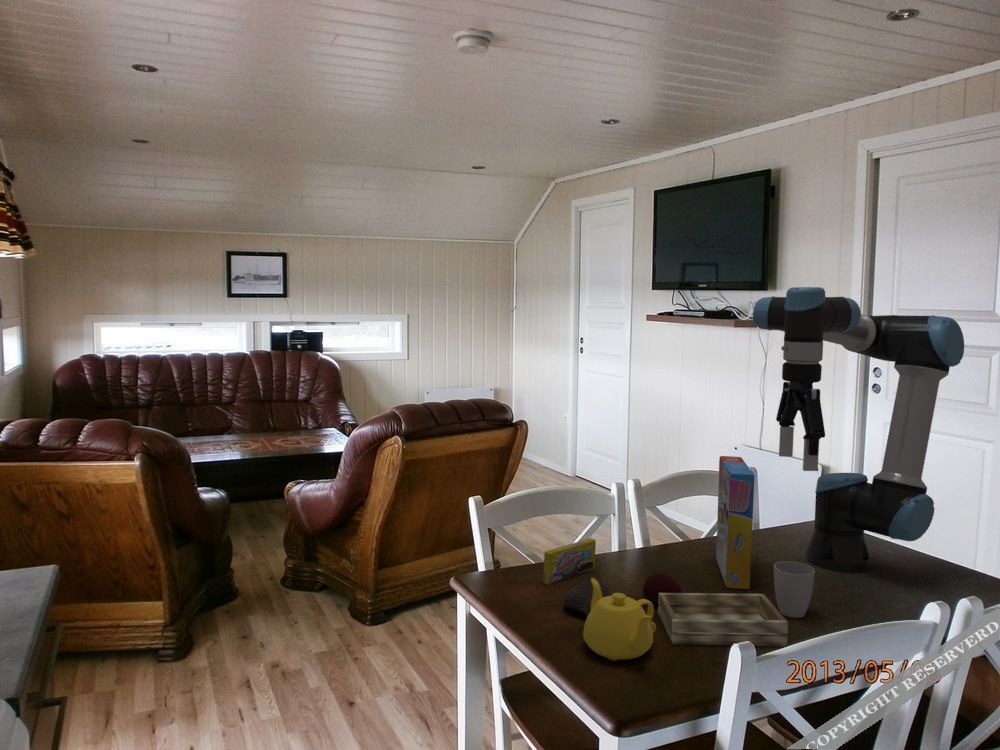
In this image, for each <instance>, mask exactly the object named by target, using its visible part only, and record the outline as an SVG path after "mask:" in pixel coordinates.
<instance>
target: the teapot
mask: <svg viewBox="0 0 1000 750" xmlns="http://www.w3.org/2000/svg"><path fill="white" fill-rule="evenodd" d="M590 579H591V582H592V585H593V597H592V602H591V611H590V613H589V615H588V617H587V616H586V620H585V623H584V627H583V631H582V636H583V640H584V642H585V644H587V646H588V648H590V649H591V650H592V651H593V652H594V653H595V654H597V655H599V656H601V657H604V658H606V659H608V660H609V661H614V662H617V661H620V660H633V659H636V658H639V657H641V656H643V655H644V654H646V652H648V651H649V649H650V648H651V647H652V646H653V643H654V633H655V632H656V629H657V625H656V623H655V622H654V621H653V617H654V612H655V611H654V609H655V607H654V604H652V603H651V602H650V601H649V600H646V599H645V598H640V599H638V600H636V599H634V598H631V597H630V596H627V595H626V594H625V593H622V592H615V593H612V594H611V596H606V597H602V593H601V589H600V585H599V583H598V581H597V580H598V579H596V577H595V578H594V577H591V578H590ZM644 605H647V612H645V610H644V609H643V607H642V606H644Z"/></svg>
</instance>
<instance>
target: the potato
mask: <svg viewBox="0 0 1000 750" xmlns="http://www.w3.org/2000/svg"><path fill="white" fill-rule="evenodd" d="M642 593H643V594H642V595H643V597H644V599H646V600H649V601H650V602H651V603H652V604H653V605H656V606H659V603H658V599H659V593H683V590H682V587H681V585H680V583H679V582H678V581H676V580H675V579H674V578H672V577H671V576H670V575H667V574H666V573H663V572H653V573H652V574H649V576H647V578H646V579H645V580H644V583H643V586H642Z"/></svg>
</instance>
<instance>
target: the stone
mask: <svg viewBox="0 0 1000 750" xmlns="http://www.w3.org/2000/svg"><path fill="white" fill-rule="evenodd" d="M596 580H597V581H598V583H599V585H600V589H601V593H602V597H606V596H612V594H611V593H610V592H611V591H610V590H609V588H608V587H607V585H606V584H605V583H604V582H602V581H600V580H599V579H596ZM564 597H565V598H564V600H563V606H564V607H565V608H567V609H571V610H574V611H575V610H576V611H578V612H581V613H583V614H585V616H586V618H587V617H588V615H589V613H590V611H591V602H592V597H593V585H592V582H591V578H590V579H585V580H584V581H582V582H580V583H579V584H576V585H575V586H573V587H572V588H571V589H570V590H569V591H568V592H567V594H566V595H565V596H564Z"/></svg>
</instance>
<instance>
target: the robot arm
mask: <svg viewBox="0 0 1000 750" xmlns="http://www.w3.org/2000/svg"><path fill="white" fill-rule="evenodd" d="M861 312H862V311H861V308H860V305H859V304H858V302H857V301H856V300H855V299H852V298H850V297H845V296H826V290H825V288H824V287H820V286H818V287H817V286H808V287H807V286H805V287H804V286H794V287H790V288H788V289H787V291H786V295H785V296H775V295H774V296H767V297H761V298H760V299H758V300H757V301H756V302H755V303H754V306H753V313H752V318H753V323H754V325H756V327H757V328H758V329H760V330H767V331H781V332H784V336H783V345H782V346H781V350H782V351H783V354H782V356H783V357H782V359H783V360H784V361H785V362H783V363H782V372H781V379H782V380H783V384H782V392H781V397H780V400H779V405H778V409H777V413H776V418H775V420H776V422H778V424H779V445H778V457H781V458H782V457H786V458H787V457H788V458H789V457H791V458H793V456H794V455H793V454H794V453H793V452H794V451H793V450H794V435H795V434H794V430H795V426H796V423H795V421H794V420H795V419H796V416H797V413H798V412H800V415H801V420H802V423H803V425H802V426H803V428H804V432H805V434H804V435H803V437H802V440H803V455H802V456H803V459H802V471H803V472H819V471H818V470H819V456H820V455H819V452H820V440H821V439H822V438H824V439H825V437H826V430H825V424H824V417H823V410H822V404H821V389H820V388H814V385H813V384H814V383H819V382H821V381H822V371H823V368H822V367H823V365H821V363H820V362H821V361H823V356H824V355H823V353H824V342H828V343H832V344H836V345H840V346H842V347H843V348H844V349H845V350H847V351H849V352H852V353H856V354H859V355H861V356H866V357H870V358H873V359H877V360H880V361H886V362H894V365H893V366H894V369H895V370H896V372H897V373H898V375H899V377H898V382H897V387H896V393H895V398H894V403H893V408H892V414H891V419H890V423H889V429H888V435H887V439H886V446H885V451H884V456H883V460H882V461H883V462H882V467H881V470H880V471H879V472H878V473H876V474H875V475H873V476H872V483H870V482H868V481H869V479H868V477H867V474H863V473H859V472H858V473H857V472H834V473H833V472H832V473H830V472H829V473H825V474H822V475H820V476H819V477H818V478H817V481H816V487H815V491H814V492H815V505H814V507H815V508H814V530H813V533H812V534H811V537H810V539H809V541H808V544H807V547H806V548H805V560H806V561H807V562H808V563H810V564H811V565H813V566H815V567H817V568H821V569H825V570H828V571H834V572H839V573H861V572H865V571H867V570H869V569H870V568H871V556H870V552H869V550H868V545H867V543H866V539H865V531H866V532H871V533H873V534H877V535H881V536H885V537H888V538H890V539H892V540H901V541H903V542H904V541H905V542H914V541H917V540H919V539H921V538H922V537H923V535H924V534H925V533H926V532H927V531H929V530H928V529H929V528H930V526H931V524H932V521H933V519H934V515H935V506H934V505H935V502H934V500H933V498H932V497H931V496H930V495H928V494H927V491H928V486H927V485H926V483H924V481H923V479H922V478H923V472H924V467H925V463H926V462H925V461H926V456H927V451H928V445H929V440H930V434H931V428H932V423H933V419H934V414H935V408H936V403H937V397H938V392H939V386H940V381H942V380H943V379H944V378H946V377H947V376H948V375H949V373H950V368H952V367H956V366H958V365H959V364H961V360H963V358H964V353H965V340H964V339H965V337H964V333H963V331H962V328H961V327H960V325H959V323H958V322H957V321H956V320H955V319H954V318H951V317H949V316H939V315H897V314H888V315H885V314H884V315H866V314H862V313H861Z"/></svg>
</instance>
